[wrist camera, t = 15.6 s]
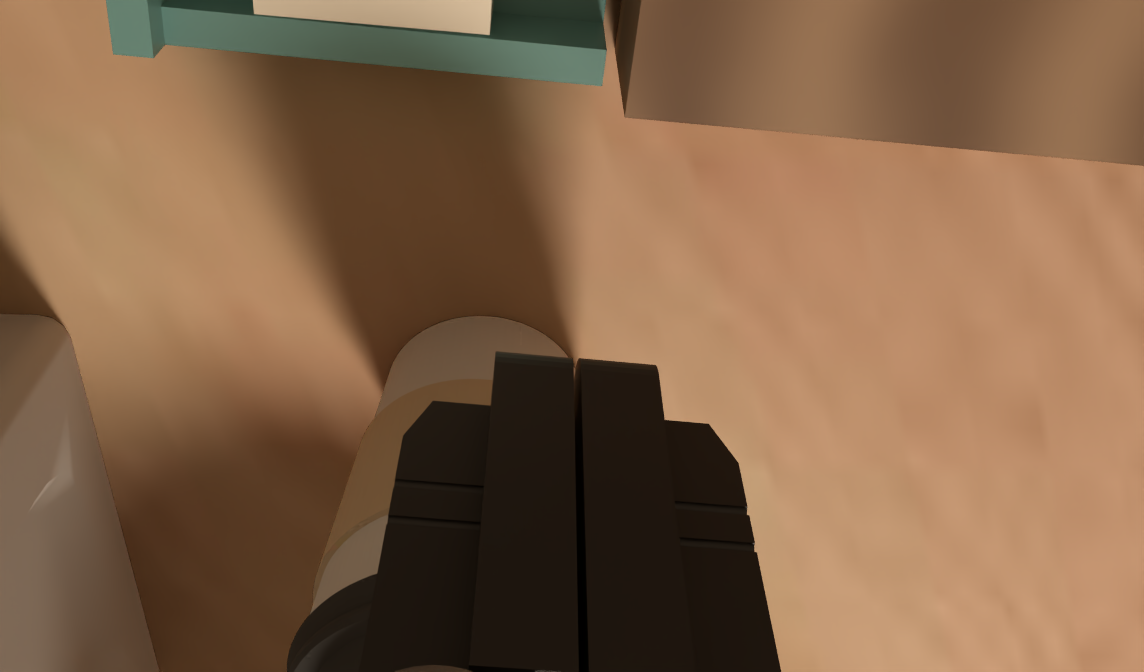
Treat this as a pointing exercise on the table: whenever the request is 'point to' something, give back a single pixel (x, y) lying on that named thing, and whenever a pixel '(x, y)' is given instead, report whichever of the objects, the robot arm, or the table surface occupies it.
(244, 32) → the tray
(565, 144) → the table surface
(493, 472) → the robot arm
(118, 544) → the white wifi router
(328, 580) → the coffee cup
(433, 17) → the tile
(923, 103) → the walnut board
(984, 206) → the table surface
